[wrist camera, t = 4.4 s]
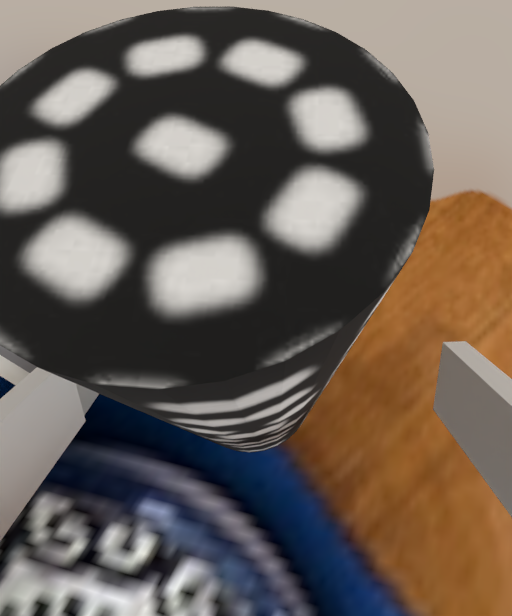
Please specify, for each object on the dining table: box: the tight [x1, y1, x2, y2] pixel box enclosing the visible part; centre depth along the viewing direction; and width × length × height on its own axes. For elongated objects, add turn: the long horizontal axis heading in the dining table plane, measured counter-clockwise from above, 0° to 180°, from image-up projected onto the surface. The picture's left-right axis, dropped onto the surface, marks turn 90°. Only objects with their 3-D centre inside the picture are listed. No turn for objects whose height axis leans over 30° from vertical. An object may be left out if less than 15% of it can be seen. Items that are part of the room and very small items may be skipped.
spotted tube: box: [0, 7, 434, 452], centre depth 15 cm, size 8×8×20 cm
